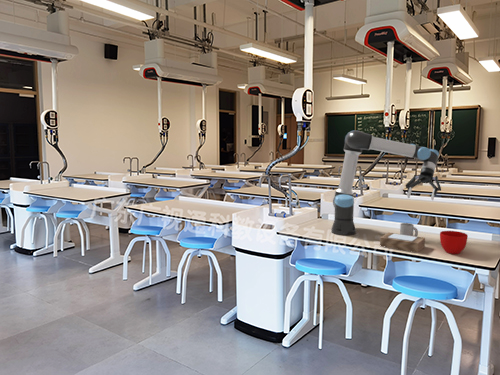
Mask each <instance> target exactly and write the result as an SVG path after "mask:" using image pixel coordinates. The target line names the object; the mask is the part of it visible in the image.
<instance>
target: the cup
mask: <svg viewBox="0 0 500 375" xmlns="http://www.w3.org/2000/svg"><path fill="white" fill-rule="evenodd" d="M399 230H400V232H399V234H403V235H409V236H416V237H419V236H418V235H419V230H418V228H417V227H416V226H415V225H414V224H413V223H407V222H403V223H400V229H399Z"/></svg>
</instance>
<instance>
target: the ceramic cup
mask: <svg viewBox="0 0 500 375" xmlns="http://www.w3.org/2000/svg"><path fill="white" fill-rule="evenodd" d="M439 241H440V245H441V247H442V249H443V250H444V252H445V253H447V254H450V253H451V254H453V255H458V254H459V255H460V253H462V252H463V251H464V249H465V248H466V246H467V243H468V233H465V232H461V231H455V230H444V231H440V232H439ZM451 254H450V255H451Z"/></svg>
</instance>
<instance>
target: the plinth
mask: <svg viewBox="0 0 500 375" xmlns="http://www.w3.org/2000/svg"><path fill="white" fill-rule="evenodd" d="M379 238H380V239H379V246H380V245H381V246H385V247H384V248H387V247H389V249H393V248H394V250H400V251H405V250H406V252H411V251H412V252H411V253H417V252H418V253H419V252H420V251H422V250H423V249H424V248H425V246H426V244H425V243H426V237H422V236H417V237H416V236H414V235H413V236H409V235H403V234H400V233H394V232H387V233H386V234H384V235H382V236H380V237H379ZM381 246H380V247H381Z"/></svg>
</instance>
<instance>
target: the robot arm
mask: <svg viewBox="0 0 500 375" xmlns="http://www.w3.org/2000/svg"><path fill="white" fill-rule="evenodd" d="M363 150H366V151H370V150H374V151H379V152H383V153H384V152H385V153H389V154H392V155H397V156H398V155H399V156H403V157H408V158H413V159H416V160H419V161H420V162H422V166H421V169H420V173H419V175H417V174H414V175H413V177H412V178H411V179H410V180H409V181H408V182H407V183H406V184H405V185H404V186H405V188H406V189H407V190H406V192H407V198H408V199H410V197H411V194H412V189H413V188H414V187H415V188H416V186H418V185H419V184H420V185H421V184H429V185H430V186H431V187H432V194H431V196H430V198H431V200H432V201H434V198H435V196H437V195H438V192H439V191H442V187H441V184H440V182H439V176H437V175H436V176H434V173H435V170H436V167H437V163H438V160H439V156H440V153H439V151H438V150H436V149H435V148H434V149H433V148H428V147H425V146H420V145H417V144H415V143H404V142H401V141H396V140H390V139H386V138H381V137H376V136H373V134H369V133H366V132H363V131H361V130H357V129H356V130H350V131H349V132H347V134H346V135H345V136H344V146H343V151H344V152H345V153H344V159H343V165H342V170H341V174H340V177H339V178H340V179H339V184H338V188H337V189H336V190H335V193H334V197H333V199H332V205H333V208H334V219H333V222H332V226H331V233H332V234H334V235H339V236H350V235H351V236H352V235H355V234H357V229H356V225H355V223H354V222H355V221H354V213H355V212H354V208H355V207H354V206H355V205H354V204H355V200H354V199H355V198H354V193H353V186H354V180H355V175H356V171H357V165H358V161H359V155H361V154H362V153H363ZM433 180H434V181H435V183H434V182H433ZM435 184H436V185H435Z"/></svg>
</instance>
